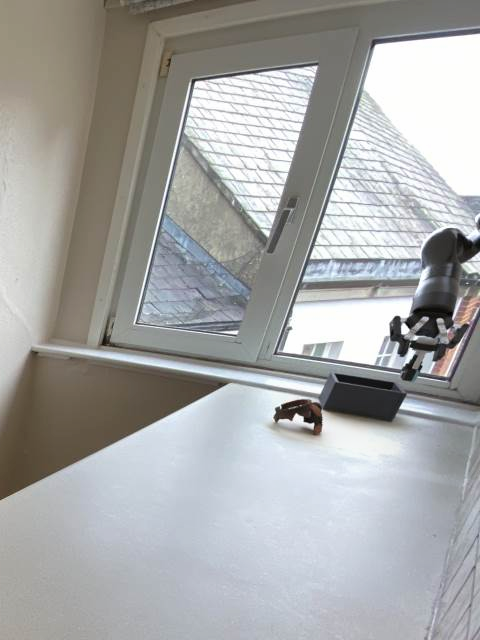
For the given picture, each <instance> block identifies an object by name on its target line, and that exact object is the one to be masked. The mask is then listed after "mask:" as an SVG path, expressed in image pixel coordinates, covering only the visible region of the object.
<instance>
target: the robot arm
mask: <svg viewBox="0 0 480 640" xmlns="http://www.w3.org/2000/svg"><path fill="white" fill-rule="evenodd" d="M474 223H475V226H476V228H475V229H474V230H473V231H472V232H471V233H470V234H469V235H468V236H466V234H465V233H464V232H463V231H462V230H461V229H459V228H458V227H455V226H445V227H441V228H438V229H436V230H434V231H433V232H432V233H430V234H429V235H428V236H427V237H426V238H425V239H424V241H423V243H422V244H421V248H420V267H421V275H420V277H419V281H418V286H417V288H416V290H415V292H414V295H413V297H412V303H411V307H410V311H409V314H408V316H407V317H401V316H400V315H394V316H393V318H392V319H391V320H390V322H389V324H388V325H389V341H390V342H392V343H393V342H396V343H398V348H397V350H396V351H397V352H396V353H397V355H399V357H400V358H405V356H406V355H407V354H408V351H409V349H410V347H409V346H410V344H411V343H410V341H411V339H412V338H413V337H414V336H415V337H427V338H434V339H438V342H437V343H438V344H441V347H439V348H438V350H437V351H433V356H432V360H431V362H433V363H437V362H439V361H441V360H442V359H443V358H444V357H445V356H446V352H447V349H449V350H453V349H454V348H456V346H457V345H458V344H460V343H461V341H462V339H463V338H464V336H465V334H466V333H467V331H468V329H469V328H470V327H471V326H470V324H469V323H467V322H466V323H462V324H459V323H455V321H454V319H453V317H454V314H455V309H456V305H457V301H458V297H459V293H460V283H461V279H462V275H463V264H465V263H467V262H468V261H470V260H472V259H473V258H474V257H475V256H477V255H478V254H479V253H480V213H479V214H477V215H476V216H475V218H474ZM403 325H405V326H406V327H407V328H408V330H409V331H408V332H407V333H406V334H403V333H402V326H403ZM450 329H451V330H452V331H451V332H452V335H453V336H452V338H451V339H449V337H448V334H449V333H448V330H450Z"/></svg>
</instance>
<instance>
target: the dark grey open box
mask: <svg viewBox="0 0 480 640" xmlns="http://www.w3.org/2000/svg"><path fill="white" fill-rule="evenodd" d="M407 395H408V393H407V392H406V390H405V389H404V388H403V387H402V386H401V385H400V383H398V382H397V381H391V380H386V379H385V380H384V379H378V378H371V377H365V376H358V375H353V374H352V375H351V374H345V373H339V372H334V371H330V372H329V375H328V377H327V379H326V381H325V383H324V385H323V387H322V390H321V392H320V394H319V396H318V400H319V404H321V406H322V410H324V411H329V412H334V413H335V412H336V413H340V414H347V415H352V416H357V417H363V418H367V419H374V420H379V421H385V422H390V423H392V422H394V419H395V417H397V414H398V412H399V410H400V408H401V406H402V405H403V402H404V400H405V399H406V397H407Z"/></svg>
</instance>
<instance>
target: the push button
mask: <svg viewBox="0 0 480 640" xmlns="http://www.w3.org/2000/svg"><path fill="white" fill-rule="evenodd" d="M410 340H411V339H410ZM437 342H438V339H434V338H431V337H426V336H417V338H416V339H415V340H414V339H412V340H411V341H410V345H409V349H411V351H414V352H415V353H414V354H413V356H412V357H411V358H410V359H409V361H408V362H407V363H404V364H405V365H404V366H402V368H401V369H400V371H399V373H400V374H399V375H398V378H399V379H400V378H401V381H405V382H412V383H415V381H417V379H418V377H419V375H420V373H421V371H422V370H423V367H424V365H423V363H424V358H425V357H426V354H432V353H433V352H434V351H437V350H438V348H439V347H441V344H438V343H437Z"/></svg>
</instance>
